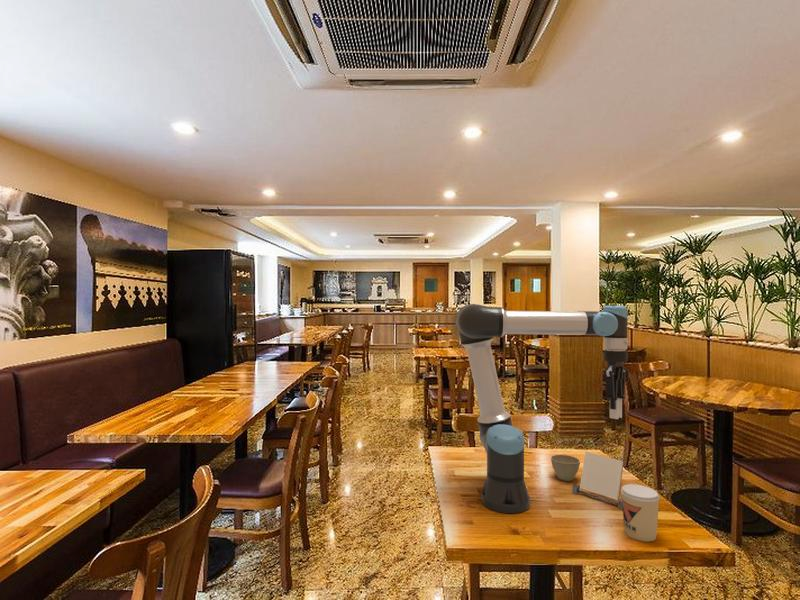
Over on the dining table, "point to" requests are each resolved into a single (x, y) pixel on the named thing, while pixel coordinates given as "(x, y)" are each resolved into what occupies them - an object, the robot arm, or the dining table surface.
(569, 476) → the flower pot
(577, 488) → the hinge bracket
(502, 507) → the robot arm
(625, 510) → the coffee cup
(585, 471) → the tile
